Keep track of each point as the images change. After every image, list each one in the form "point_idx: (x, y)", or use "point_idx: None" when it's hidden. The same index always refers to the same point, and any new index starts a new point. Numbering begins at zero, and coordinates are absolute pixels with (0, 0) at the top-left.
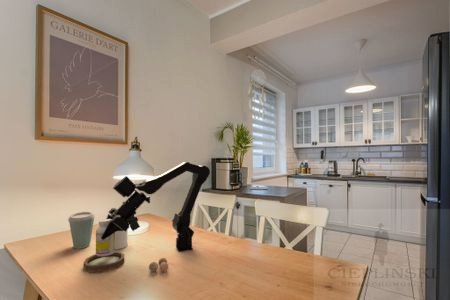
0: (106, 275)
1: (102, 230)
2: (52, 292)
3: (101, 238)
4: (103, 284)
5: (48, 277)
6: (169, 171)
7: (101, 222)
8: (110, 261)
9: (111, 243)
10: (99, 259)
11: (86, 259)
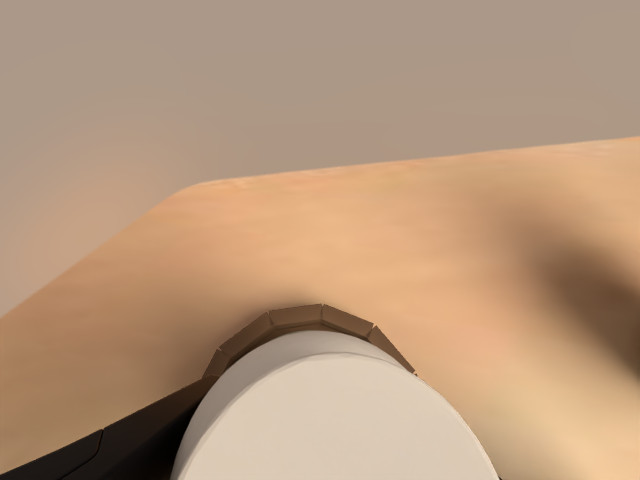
0: (157, 390)
1: (211, 394)
2: (194, 195)
3: (209, 376)
4: (80, 351)
5: (329, 198)
6: None
7: (246, 388)
8: None
9: None
10: None
11: (363, 326)
